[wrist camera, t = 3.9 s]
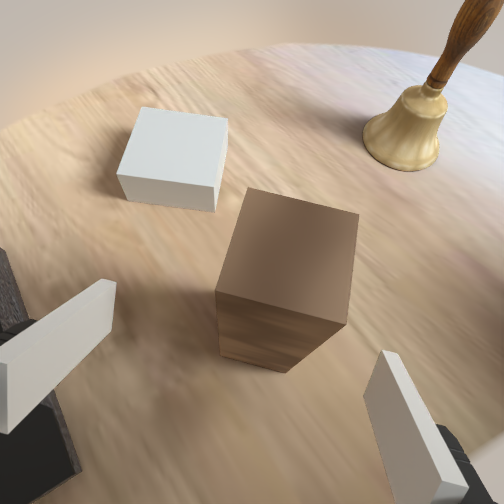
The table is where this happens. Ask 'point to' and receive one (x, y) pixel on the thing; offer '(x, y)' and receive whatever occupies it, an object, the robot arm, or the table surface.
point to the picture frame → (31, 425)
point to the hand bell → (427, 98)
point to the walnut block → (284, 280)
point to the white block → (175, 159)
